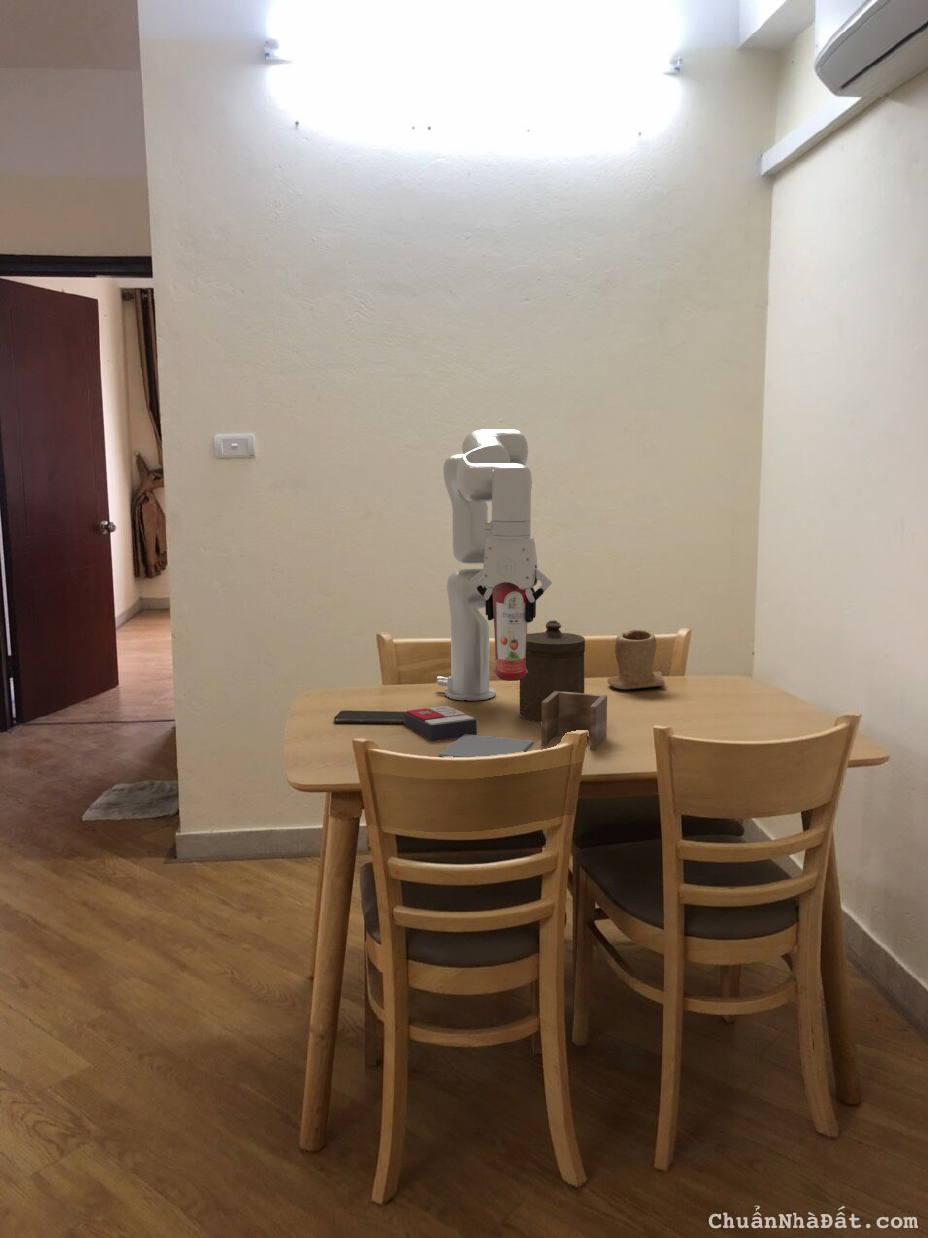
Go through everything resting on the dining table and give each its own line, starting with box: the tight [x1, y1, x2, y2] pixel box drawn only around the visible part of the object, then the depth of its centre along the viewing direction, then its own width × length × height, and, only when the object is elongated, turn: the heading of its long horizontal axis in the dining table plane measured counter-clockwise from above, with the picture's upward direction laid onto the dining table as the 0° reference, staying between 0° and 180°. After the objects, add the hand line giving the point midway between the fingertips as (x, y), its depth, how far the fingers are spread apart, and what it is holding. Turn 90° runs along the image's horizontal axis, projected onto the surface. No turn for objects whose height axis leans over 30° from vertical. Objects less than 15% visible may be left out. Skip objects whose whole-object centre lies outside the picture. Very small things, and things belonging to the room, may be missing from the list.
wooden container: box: [519, 619, 586, 723], centre depth 220 cm, size 15×15×22 cm
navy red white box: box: [403, 705, 478, 742], centre depth 210 cm, size 11×4×15 cm
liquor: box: [492, 582, 528, 682], centre depth 189 cm, size 7×7×28 cm
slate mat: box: [438, 734, 534, 757], centre depth 195 cm, size 15×15×1 cm
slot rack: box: [540, 691, 608, 751], centre depth 201 cm, size 11×10×9 cm
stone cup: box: [606, 629, 666, 690], centre depth 246 cm, size 15×12×15 cm
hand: (510, 619), depth 189 cm, fingers closed on liquor, 7 cm apart
